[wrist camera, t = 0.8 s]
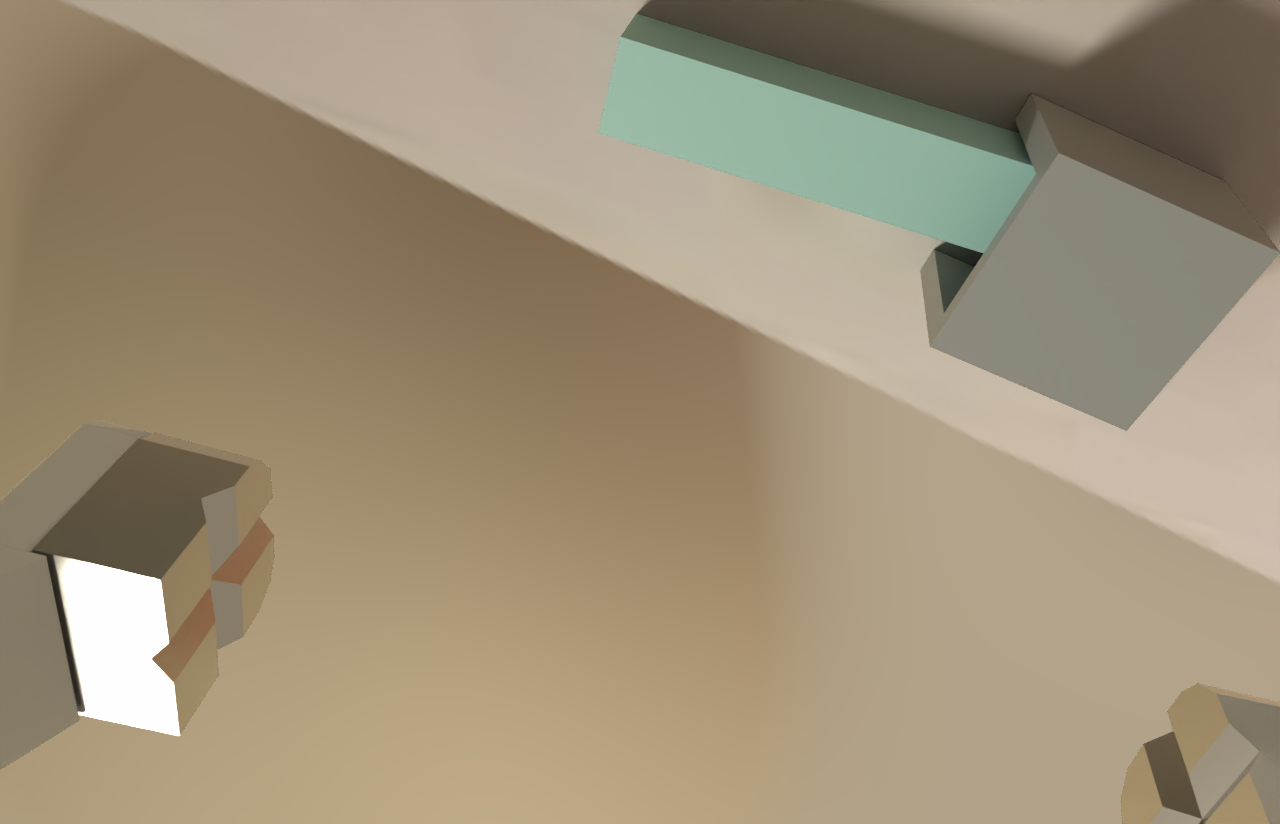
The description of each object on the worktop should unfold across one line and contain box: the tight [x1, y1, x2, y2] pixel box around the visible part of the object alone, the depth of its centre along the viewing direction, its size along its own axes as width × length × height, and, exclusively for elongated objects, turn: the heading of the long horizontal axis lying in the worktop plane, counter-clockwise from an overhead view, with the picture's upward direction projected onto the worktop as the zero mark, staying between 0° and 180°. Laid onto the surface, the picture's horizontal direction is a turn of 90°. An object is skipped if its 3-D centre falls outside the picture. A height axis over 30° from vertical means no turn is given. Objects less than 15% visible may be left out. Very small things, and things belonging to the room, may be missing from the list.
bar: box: [598, 13, 1036, 253], centre depth 43 cm, size 18×4×4 cm, turn 76°
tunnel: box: [921, 94, 1280, 431], centre depth 42 cm, size 9×9×7 cm
